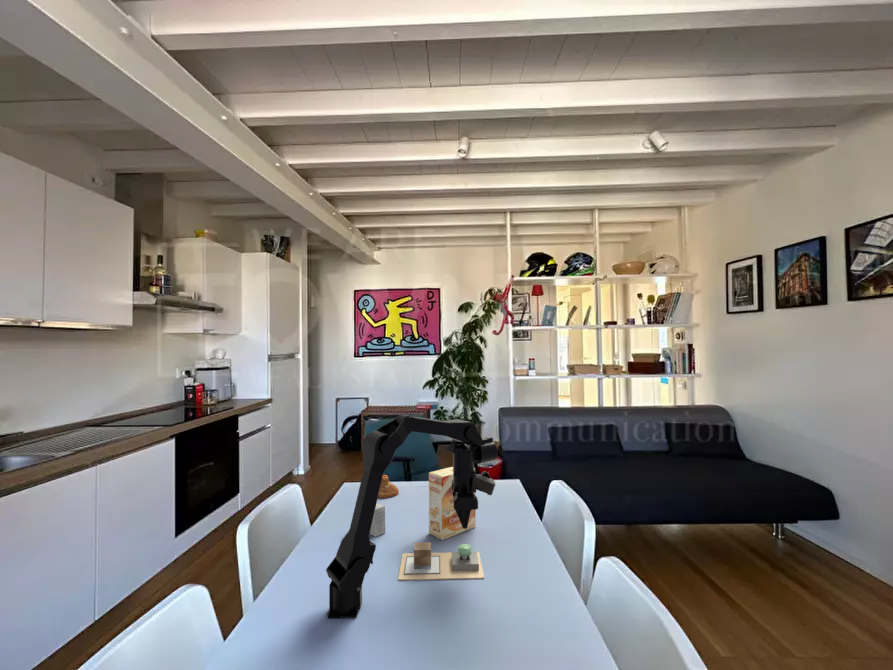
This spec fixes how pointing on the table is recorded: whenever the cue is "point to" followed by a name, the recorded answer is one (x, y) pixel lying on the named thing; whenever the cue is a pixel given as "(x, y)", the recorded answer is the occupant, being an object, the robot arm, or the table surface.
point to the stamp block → (422, 555)
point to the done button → (464, 550)
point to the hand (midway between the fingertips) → (464, 524)
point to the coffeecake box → (444, 506)
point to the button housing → (465, 562)
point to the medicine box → (378, 521)
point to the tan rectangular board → (436, 569)
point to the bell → (387, 488)
